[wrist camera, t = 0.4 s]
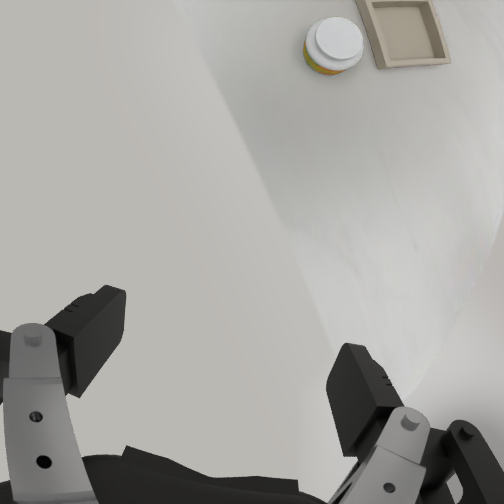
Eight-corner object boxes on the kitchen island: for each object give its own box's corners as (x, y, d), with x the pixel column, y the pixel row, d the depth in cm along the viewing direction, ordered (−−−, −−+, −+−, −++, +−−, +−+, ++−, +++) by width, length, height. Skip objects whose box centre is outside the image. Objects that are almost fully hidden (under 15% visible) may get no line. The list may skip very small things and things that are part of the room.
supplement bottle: (293, 56, 29) (293, 41, 20) (320, 23, 26) (329, -2, 18) (333, 84, 30) (348, 79, 21) (359, 51, 27) (383, 36, 19)
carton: (336, -44, 21) (340, -56, 18) (398, -46, 19) (406, -56, 16) (378, 69, 28) (386, 66, 25) (438, 64, 26) (451, 63, 23)
